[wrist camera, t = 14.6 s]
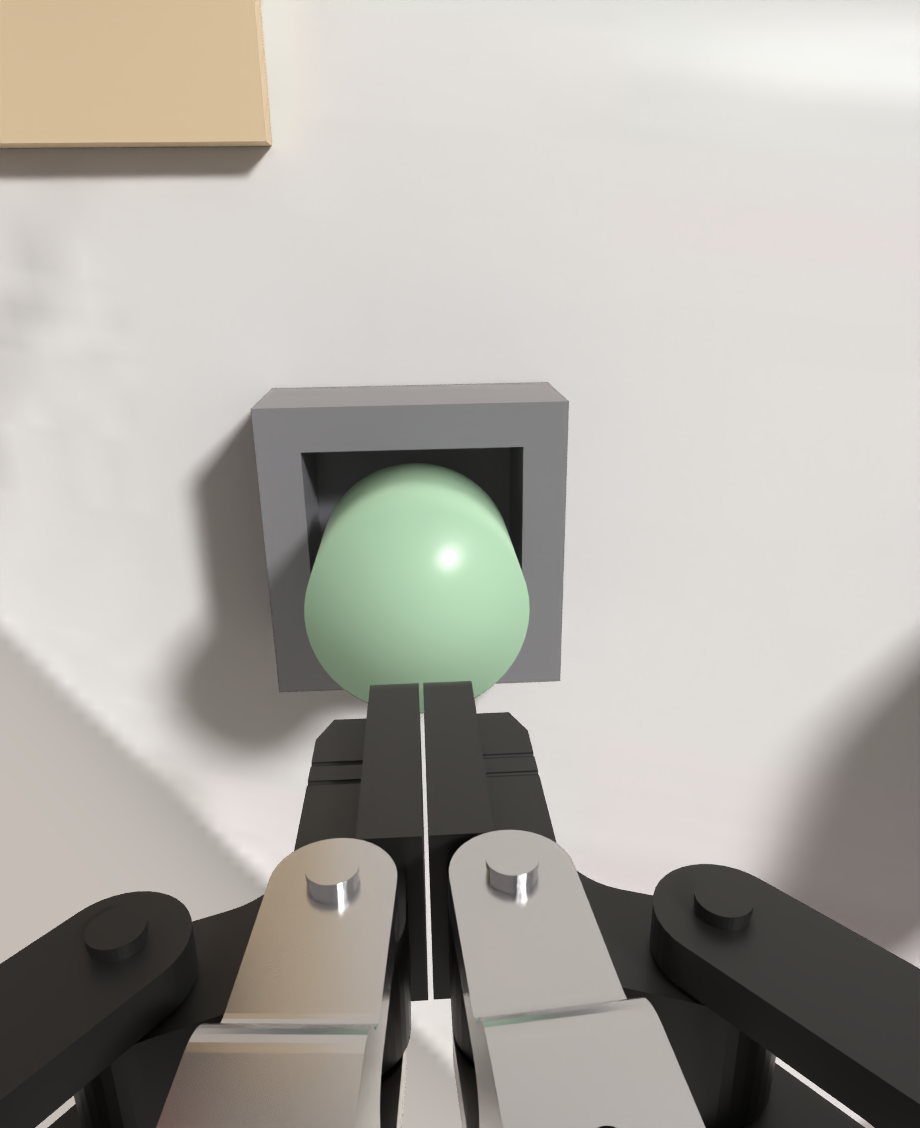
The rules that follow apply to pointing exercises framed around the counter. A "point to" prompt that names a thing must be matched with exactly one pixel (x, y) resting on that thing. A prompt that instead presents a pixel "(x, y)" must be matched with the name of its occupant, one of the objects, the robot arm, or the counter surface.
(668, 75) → the counter surface
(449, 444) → the button housing
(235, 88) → the sketchbook
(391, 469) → the button
